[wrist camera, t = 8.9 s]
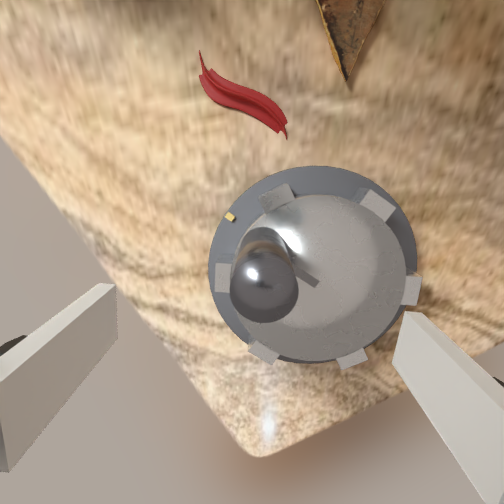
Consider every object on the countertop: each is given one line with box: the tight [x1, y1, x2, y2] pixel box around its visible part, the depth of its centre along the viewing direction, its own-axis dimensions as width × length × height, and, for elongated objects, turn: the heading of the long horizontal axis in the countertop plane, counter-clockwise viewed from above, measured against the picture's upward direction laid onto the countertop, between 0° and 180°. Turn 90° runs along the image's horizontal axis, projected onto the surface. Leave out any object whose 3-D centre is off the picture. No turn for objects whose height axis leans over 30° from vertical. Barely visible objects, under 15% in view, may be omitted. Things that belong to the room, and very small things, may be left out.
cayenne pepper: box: [199, 50, 287, 139], centre depth 29 cm, size 12×5×2 cm, turn 39°
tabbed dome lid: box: [215, 182, 423, 370], centre depth 25 cm, size 18×19×13 cm
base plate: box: [208, 166, 417, 364], centre depth 32 cm, size 21×21×2 cm
